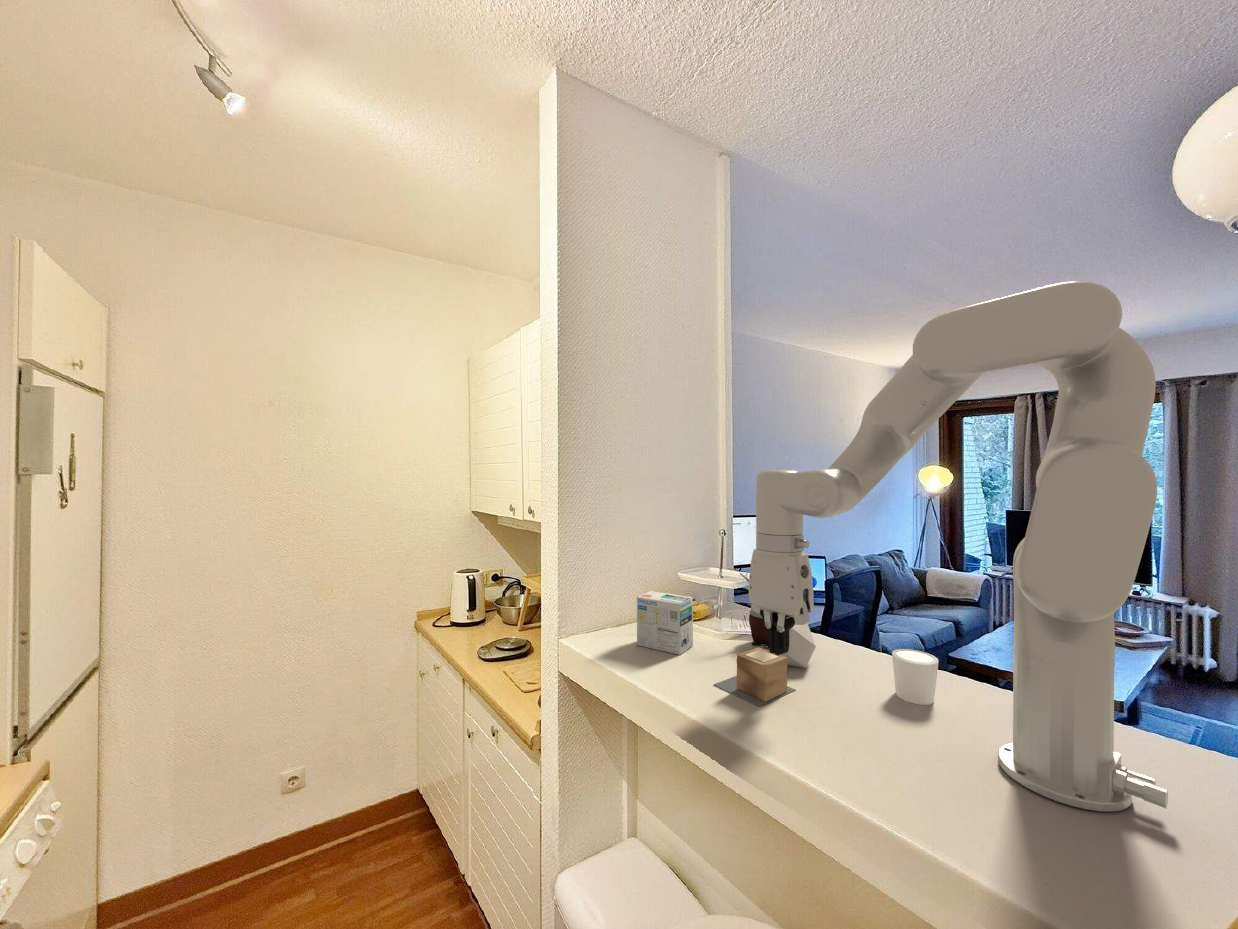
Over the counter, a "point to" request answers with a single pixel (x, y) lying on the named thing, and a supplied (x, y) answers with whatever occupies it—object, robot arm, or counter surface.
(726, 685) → the mat
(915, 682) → the white cylinder
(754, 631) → the mate gourd
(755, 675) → the walnut block
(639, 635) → the light bulb box
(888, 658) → the counter surface
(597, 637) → the counter surface
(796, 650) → the die
